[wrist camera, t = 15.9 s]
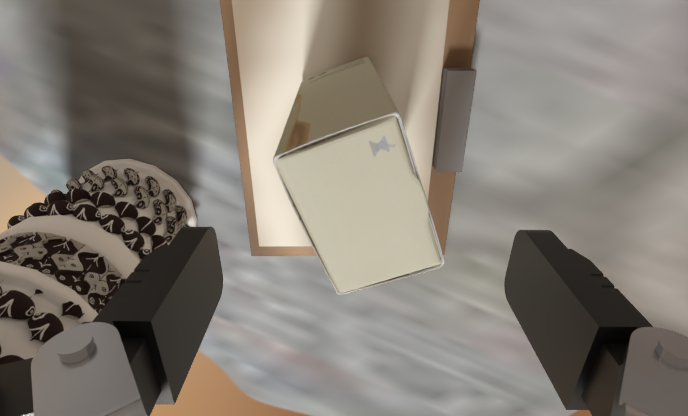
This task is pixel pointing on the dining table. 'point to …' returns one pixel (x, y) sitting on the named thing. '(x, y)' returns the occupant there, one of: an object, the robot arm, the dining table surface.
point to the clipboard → (335, 50)
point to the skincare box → (356, 180)
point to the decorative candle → (82, 249)
